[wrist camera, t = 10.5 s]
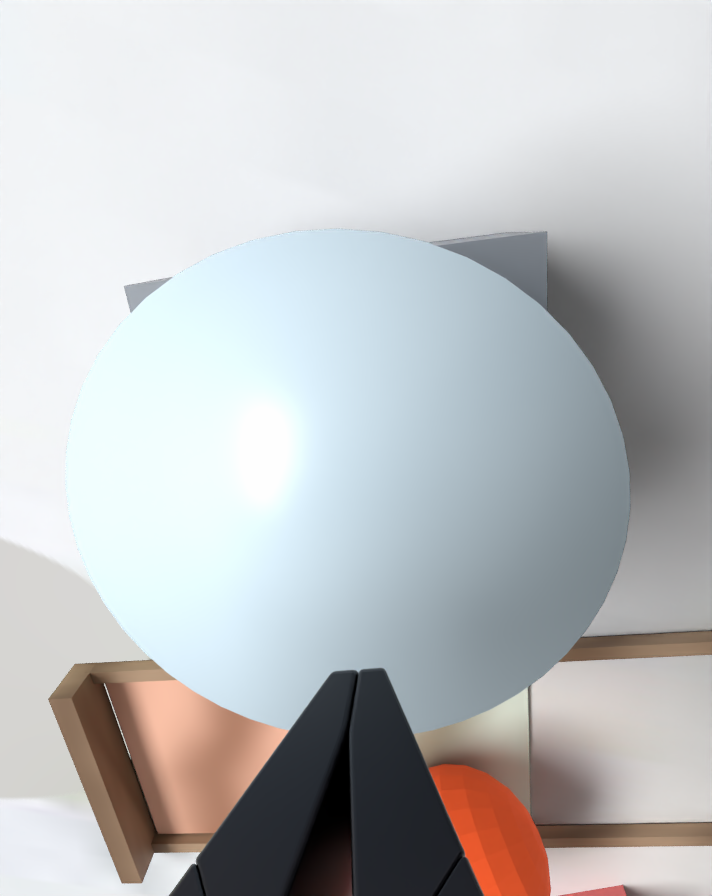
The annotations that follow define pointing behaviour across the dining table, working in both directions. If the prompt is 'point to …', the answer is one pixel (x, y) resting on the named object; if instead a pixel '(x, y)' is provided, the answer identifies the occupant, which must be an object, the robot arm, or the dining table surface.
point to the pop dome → (347, 477)
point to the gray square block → (500, 253)
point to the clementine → (494, 832)
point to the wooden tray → (252, 743)
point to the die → (602, 892)
